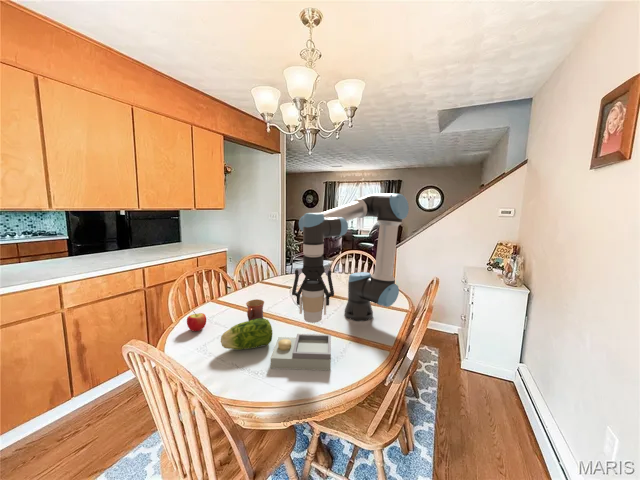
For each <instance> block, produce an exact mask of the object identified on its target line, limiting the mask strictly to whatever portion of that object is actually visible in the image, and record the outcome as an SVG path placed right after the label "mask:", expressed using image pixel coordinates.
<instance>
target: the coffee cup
mask: <svg viewBox="0 0 640 480" xmlns="http://www.w3.org/2000/svg"><path fill="white" fill-rule="evenodd" d="M301 289H302V292H301V295H302V312H303V320H304V321H305V322H307V323H309V324H315V323H319V322H321V321H322V320H323V319H322V317H323V311H324V296H325V293H324V286H322V284H321V283H319V281H318V280H309V279H308V281H307V282H306V283H304V285H303V286H302V288H301Z"/></svg>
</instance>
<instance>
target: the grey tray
mask: <svg viewBox="0 0 640 480" xmlns="http://www.w3.org/2000/svg"><path fill="white" fill-rule="evenodd" d="M331 354H332V335H331V334H319V333H317V334H315V333H313V334H311V333H307V334H306V333H297V334H296V337H291V336H289V337H286V336H285V337H284V336H283V337H282V336H279V337H277V339H276V342H275V346H274V348H273V350H272V353H271V357H270V369H280V370H282V369H286V370H287V369H288V370H308V371H309V370H310V371H311V370H314V371H332V370H331V367H332V360H331V359H332V355H331Z"/></svg>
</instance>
